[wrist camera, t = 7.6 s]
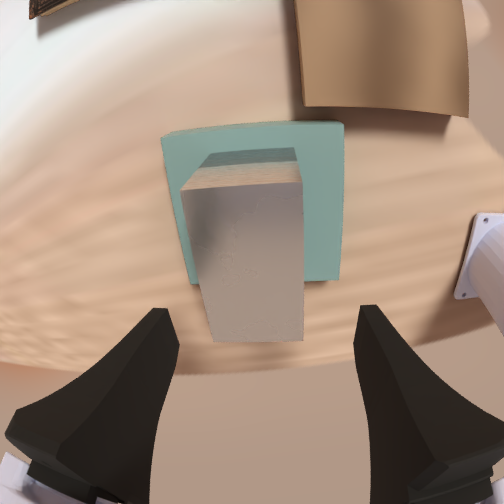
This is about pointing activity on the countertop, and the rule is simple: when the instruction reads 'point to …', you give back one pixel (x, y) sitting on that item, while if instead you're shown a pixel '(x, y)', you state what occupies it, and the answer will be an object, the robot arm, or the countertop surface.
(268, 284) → the block
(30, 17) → the hardcover book
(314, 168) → the stand
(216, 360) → the countertop surface
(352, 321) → the countertop surface
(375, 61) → the stand
